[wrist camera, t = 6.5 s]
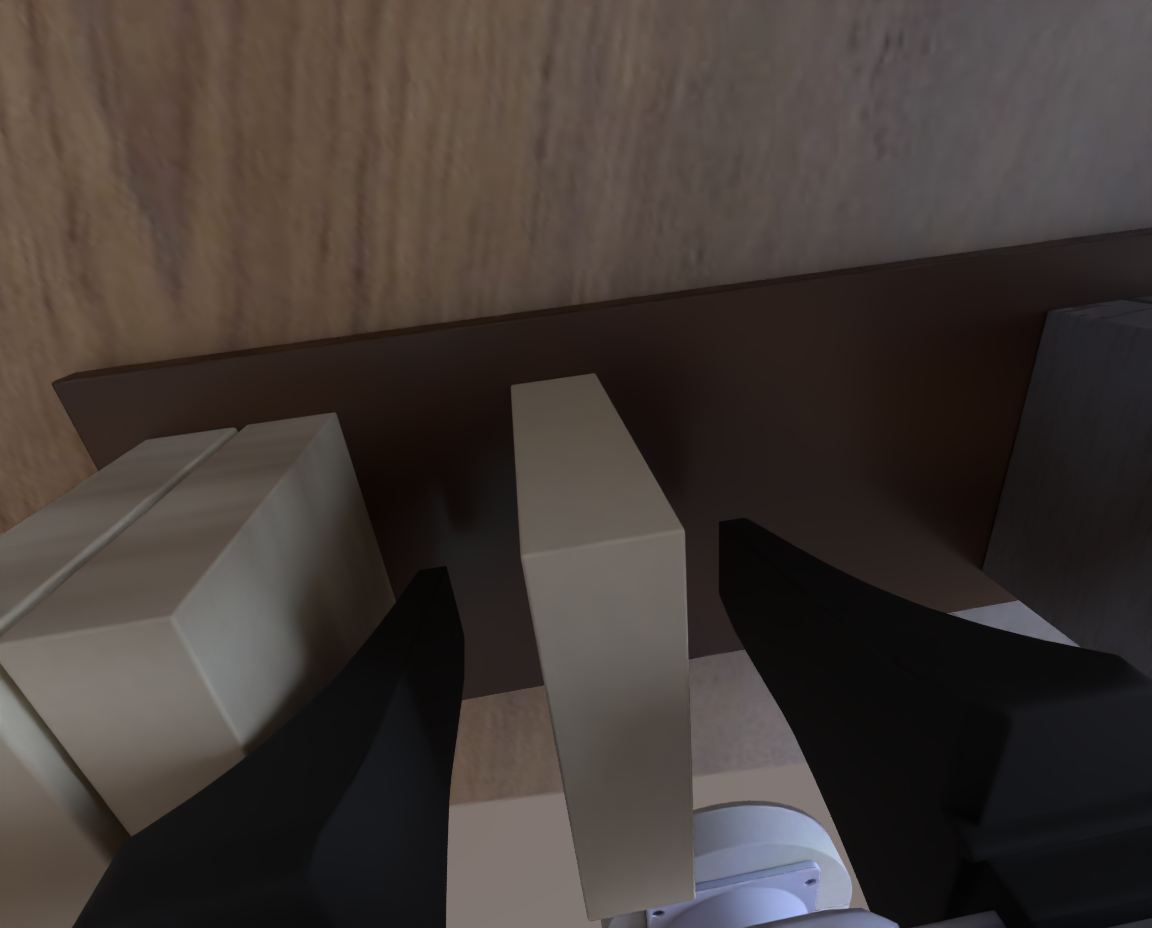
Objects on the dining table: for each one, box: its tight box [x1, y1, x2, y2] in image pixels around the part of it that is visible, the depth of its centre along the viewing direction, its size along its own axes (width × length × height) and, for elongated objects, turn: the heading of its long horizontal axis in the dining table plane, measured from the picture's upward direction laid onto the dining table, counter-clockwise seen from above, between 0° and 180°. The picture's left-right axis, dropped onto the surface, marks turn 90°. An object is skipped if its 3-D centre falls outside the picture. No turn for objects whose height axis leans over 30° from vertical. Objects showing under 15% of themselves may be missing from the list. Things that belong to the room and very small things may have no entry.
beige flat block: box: [511, 373, 696, 921], centre depth 11 cm, size 8×2×7 cm, turn 6°
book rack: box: [0, 227, 1152, 928], centre depth 12 cm, size 11×28×8 cm, turn 96°
